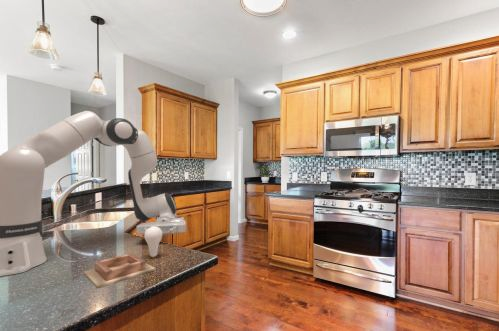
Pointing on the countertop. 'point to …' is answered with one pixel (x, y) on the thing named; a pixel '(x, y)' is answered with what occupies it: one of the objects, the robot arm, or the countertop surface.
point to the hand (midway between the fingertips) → (158, 232)
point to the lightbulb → (153, 239)
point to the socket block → (117, 270)
